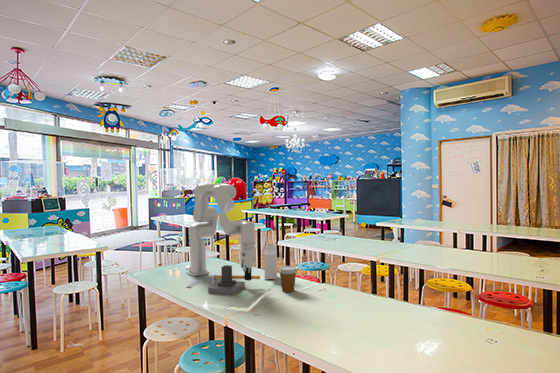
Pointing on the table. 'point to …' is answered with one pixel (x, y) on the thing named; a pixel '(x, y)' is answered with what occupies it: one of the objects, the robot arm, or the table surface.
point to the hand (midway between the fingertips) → (248, 279)
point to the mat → (195, 283)
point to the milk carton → (270, 262)
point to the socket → (225, 288)
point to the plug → (226, 277)
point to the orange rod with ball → (234, 277)
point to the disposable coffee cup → (287, 278)
